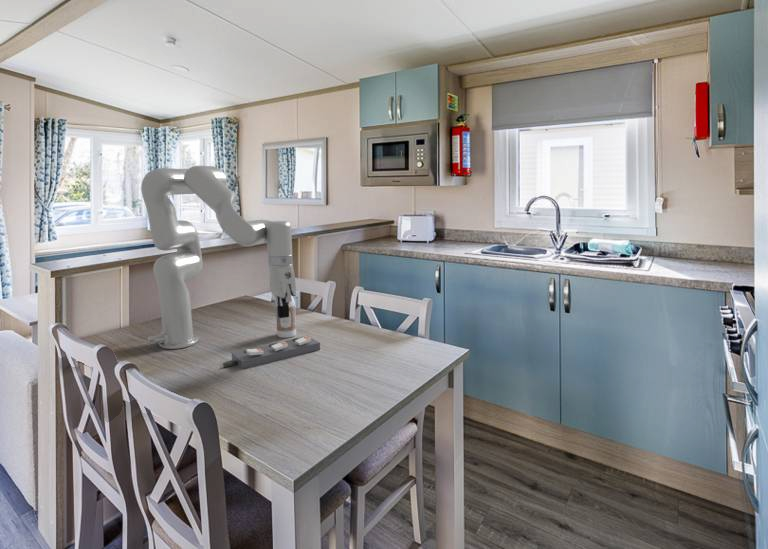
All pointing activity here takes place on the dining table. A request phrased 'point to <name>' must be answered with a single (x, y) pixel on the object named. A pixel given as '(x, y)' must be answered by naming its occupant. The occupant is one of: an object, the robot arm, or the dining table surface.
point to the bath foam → (287, 322)
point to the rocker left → (254, 351)
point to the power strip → (272, 353)
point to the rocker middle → (279, 346)
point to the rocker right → (303, 340)
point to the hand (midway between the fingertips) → (283, 316)
